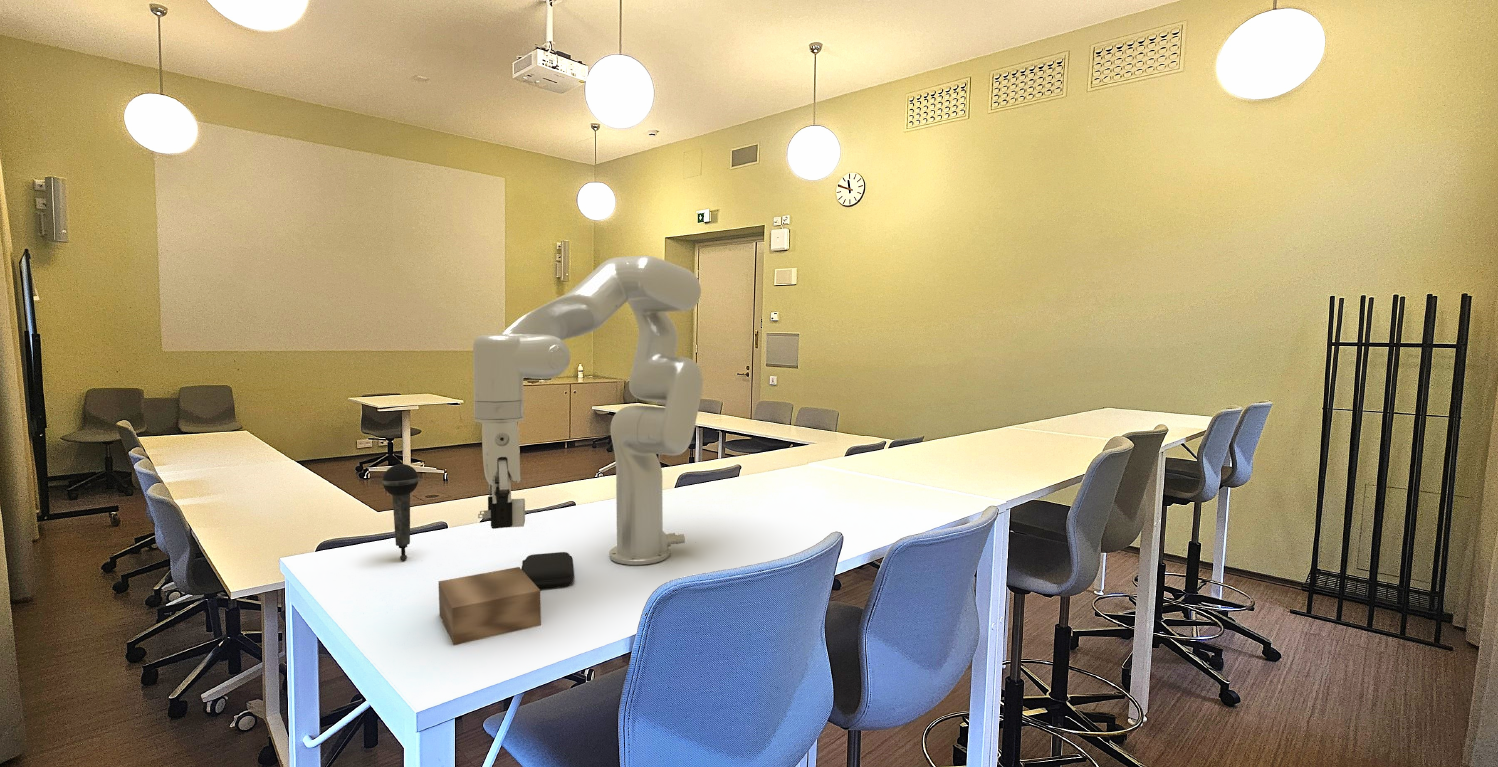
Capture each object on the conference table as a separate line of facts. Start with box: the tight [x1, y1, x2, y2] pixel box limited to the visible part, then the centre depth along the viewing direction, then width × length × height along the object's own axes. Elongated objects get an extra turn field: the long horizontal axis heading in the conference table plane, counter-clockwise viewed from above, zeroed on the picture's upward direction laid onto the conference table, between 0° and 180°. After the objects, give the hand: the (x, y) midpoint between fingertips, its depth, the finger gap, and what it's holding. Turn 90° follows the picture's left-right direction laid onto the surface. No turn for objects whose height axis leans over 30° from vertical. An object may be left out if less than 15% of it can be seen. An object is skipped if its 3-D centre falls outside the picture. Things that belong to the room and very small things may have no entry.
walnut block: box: [438, 566, 542, 646], centre depth 109 cm, size 13×13×6 cm
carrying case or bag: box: [520, 551, 575, 590], centre depth 129 cm, size 11×3×15 cm
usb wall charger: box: [477, 498, 526, 529], centre depth 110 cm, size 4×7×4 cm, turn 104°
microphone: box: [381, 463, 420, 562], centre depth 137 cm, size 7×7×20 cm
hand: (500, 522), depth 109 cm, fingers closed on usb wall charger, 4 cm apart
